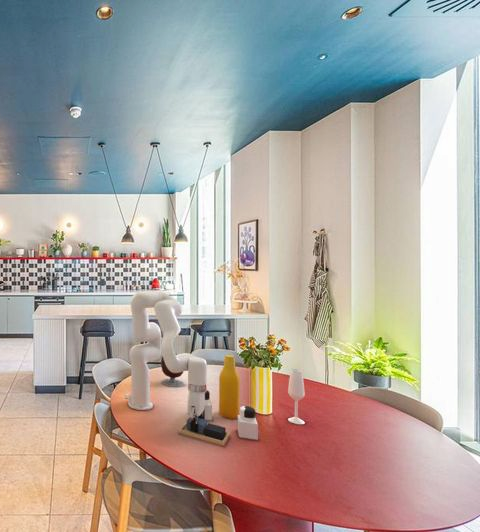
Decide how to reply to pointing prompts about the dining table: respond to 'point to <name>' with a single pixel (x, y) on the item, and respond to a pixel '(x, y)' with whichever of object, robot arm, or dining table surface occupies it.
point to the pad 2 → (215, 431)
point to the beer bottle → (229, 389)
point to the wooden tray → (202, 435)
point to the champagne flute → (296, 392)
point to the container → (207, 407)
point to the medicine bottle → (247, 423)
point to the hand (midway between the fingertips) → (196, 428)
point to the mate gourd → (171, 381)
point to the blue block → (201, 425)
